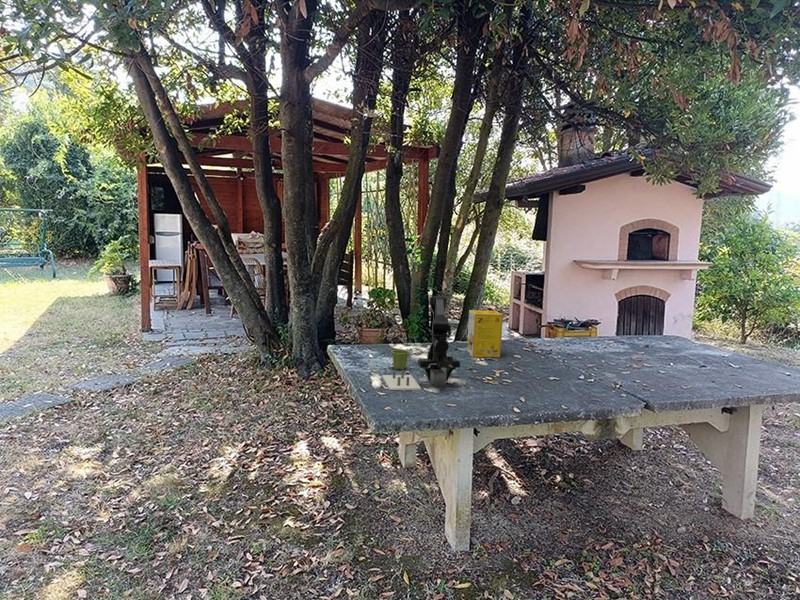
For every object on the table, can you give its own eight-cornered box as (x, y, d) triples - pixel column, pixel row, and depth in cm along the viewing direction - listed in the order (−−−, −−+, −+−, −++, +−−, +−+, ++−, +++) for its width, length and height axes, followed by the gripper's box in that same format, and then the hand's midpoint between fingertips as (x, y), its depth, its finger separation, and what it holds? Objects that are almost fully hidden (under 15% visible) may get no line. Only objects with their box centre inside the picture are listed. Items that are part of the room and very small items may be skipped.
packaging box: (466, 351, 319) (469, 309, 316) (493, 351, 320) (496, 310, 317) (471, 357, 303) (474, 313, 300) (500, 358, 304) (502, 315, 301)
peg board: (381, 377, 251) (382, 367, 251) (410, 376, 254) (410, 367, 253) (389, 390, 230) (390, 380, 229) (421, 390, 232) (421, 380, 232)
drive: (430, 382, 247) (430, 369, 246) (440, 381, 248) (441, 369, 247) (435, 387, 238) (435, 374, 238) (445, 387, 239) (446, 374, 239)
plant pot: (386, 367, 271) (387, 350, 270) (401, 365, 277) (402, 348, 275) (397, 371, 263) (398, 354, 262) (412, 369, 269) (413, 352, 268)
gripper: (424, 352, 231) (422, 386, 233) (464, 352, 235) (462, 386, 237) (418, 346, 242) (416, 379, 244) (457, 346, 246) (455, 379, 248)
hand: (437, 381), depth 243 cm, fingers open, 8 cm apart
